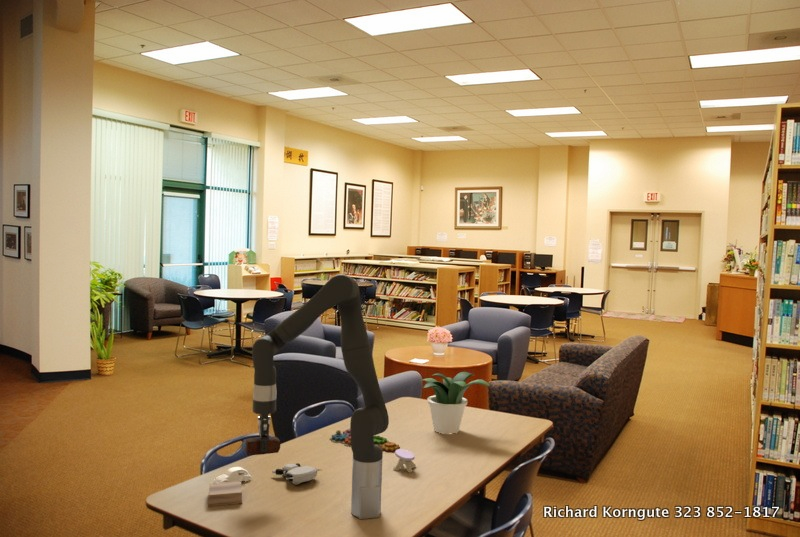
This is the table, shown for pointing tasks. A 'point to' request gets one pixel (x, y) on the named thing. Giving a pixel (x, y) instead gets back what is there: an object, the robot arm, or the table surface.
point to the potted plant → (449, 401)
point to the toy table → (404, 459)
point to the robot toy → (297, 473)
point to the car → (233, 475)
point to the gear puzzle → (378, 440)
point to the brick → (254, 446)
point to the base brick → (225, 493)
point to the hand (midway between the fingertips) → (263, 448)
